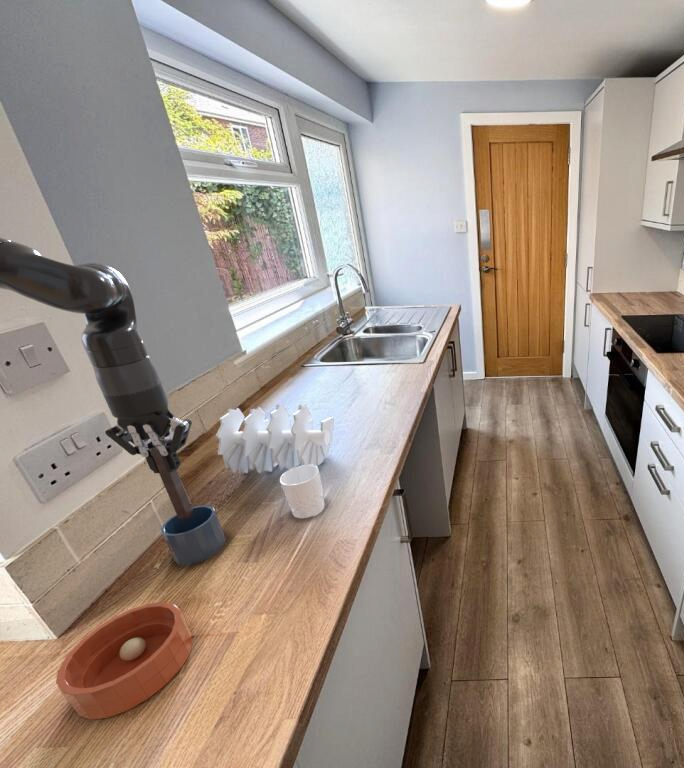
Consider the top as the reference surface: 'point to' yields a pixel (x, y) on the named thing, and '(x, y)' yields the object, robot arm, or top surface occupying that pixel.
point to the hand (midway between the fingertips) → (167, 470)
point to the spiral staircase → (272, 440)
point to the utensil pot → (194, 536)
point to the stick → (173, 487)
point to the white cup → (303, 490)
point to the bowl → (120, 677)
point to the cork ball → (132, 649)
